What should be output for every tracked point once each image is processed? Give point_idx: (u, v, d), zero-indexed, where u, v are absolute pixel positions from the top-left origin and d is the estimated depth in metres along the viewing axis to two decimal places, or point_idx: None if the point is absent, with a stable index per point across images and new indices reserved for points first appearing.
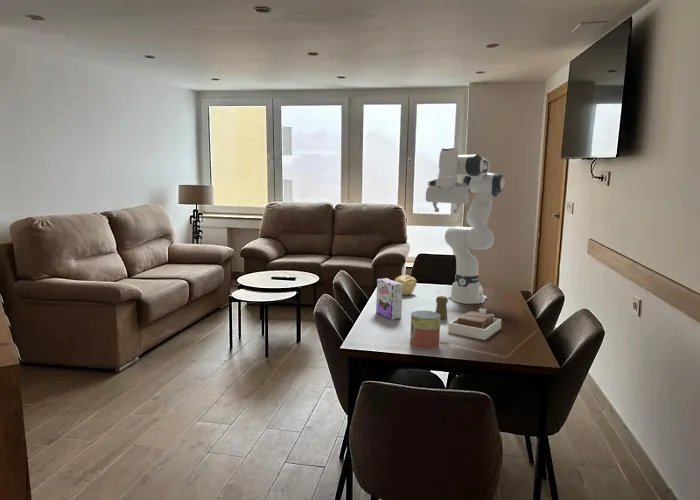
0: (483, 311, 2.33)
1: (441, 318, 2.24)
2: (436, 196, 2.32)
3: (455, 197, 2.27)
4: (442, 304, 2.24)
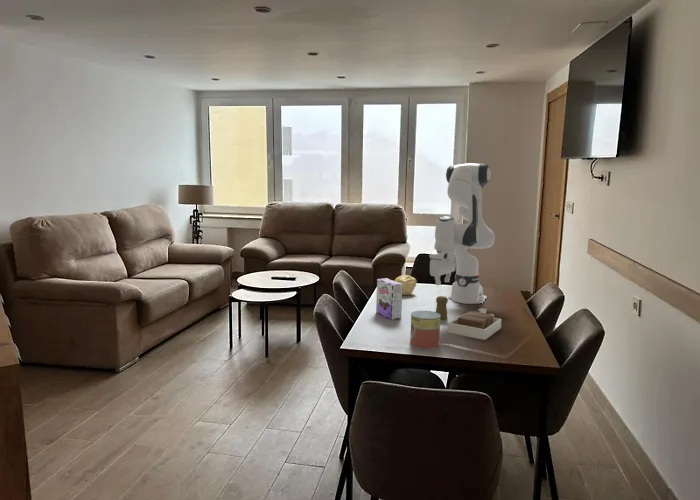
0: (483, 311, 2.33)
1: (441, 318, 2.24)
2: (443, 269, 2.19)
3: (451, 266, 2.27)
4: (442, 304, 2.24)
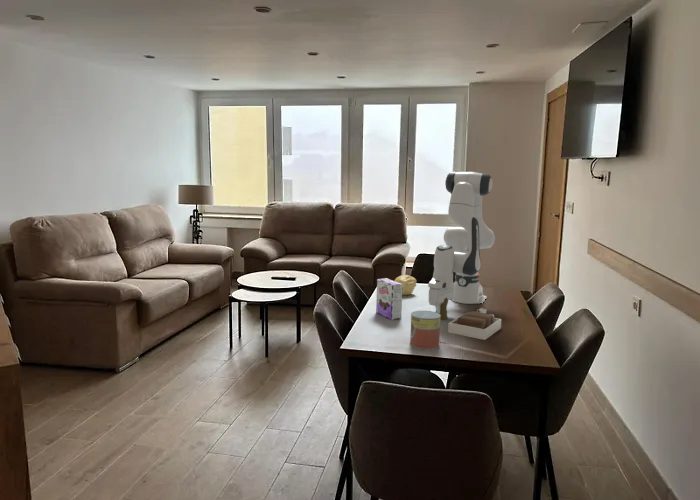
0: (483, 311, 2.33)
1: (441, 318, 2.24)
2: (441, 298, 2.21)
3: (450, 294, 2.29)
4: (442, 304, 2.24)
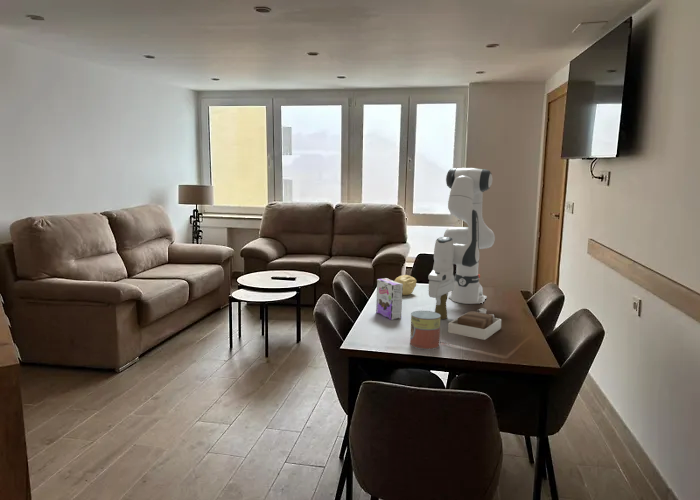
0: (483, 311, 2.33)
1: None
2: (441, 290, 2.21)
3: (450, 285, 2.29)
4: (441, 301, 2.25)
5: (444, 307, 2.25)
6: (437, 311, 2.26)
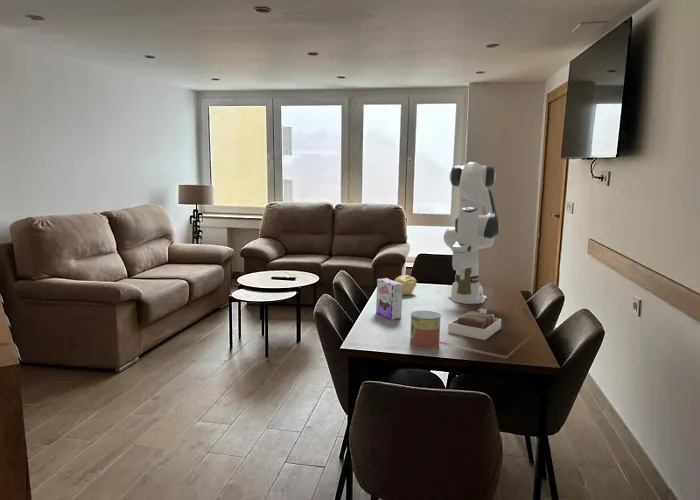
0: (483, 311, 2.33)
1: (464, 290, 2.10)
2: (466, 262, 2.07)
3: (474, 260, 2.14)
4: (465, 276, 2.10)
5: (468, 282, 2.10)
6: (461, 286, 2.11)
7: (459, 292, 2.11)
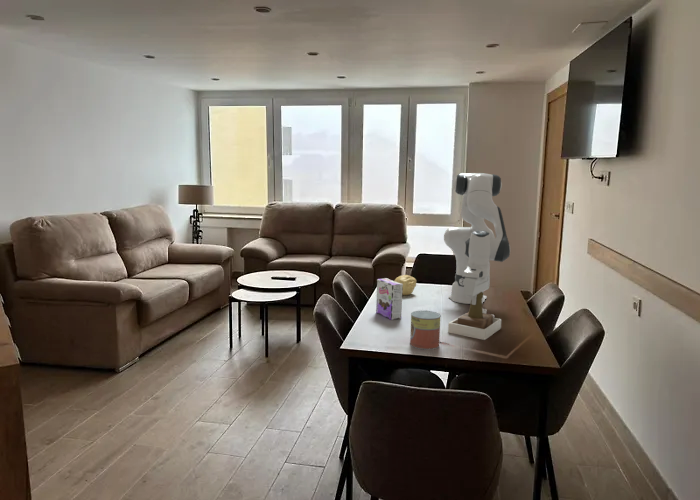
0: (483, 311, 2.32)
1: (476, 314, 2.06)
2: (477, 288, 2.03)
3: (485, 284, 2.10)
4: (477, 299, 2.06)
5: (480, 305, 2.06)
6: (472, 310, 2.07)
7: (470, 315, 2.07)
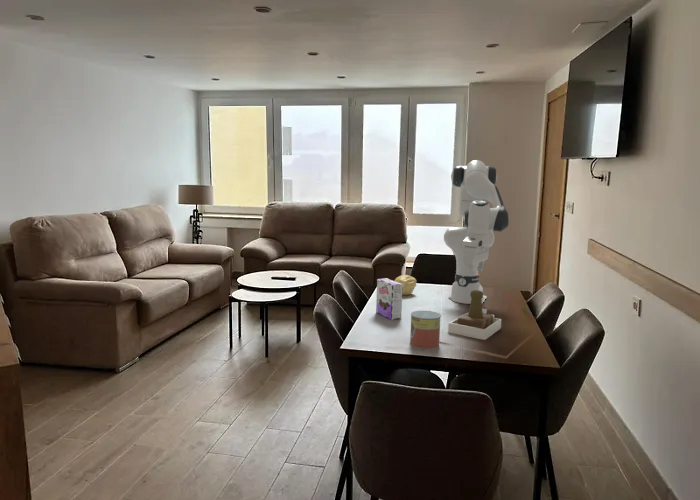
0: (483, 311, 2.32)
1: (476, 314, 2.06)
2: (477, 257, 2.04)
3: (484, 254, 2.11)
4: (477, 299, 2.06)
5: (480, 305, 2.06)
6: (472, 310, 2.07)
7: (470, 316, 2.07)
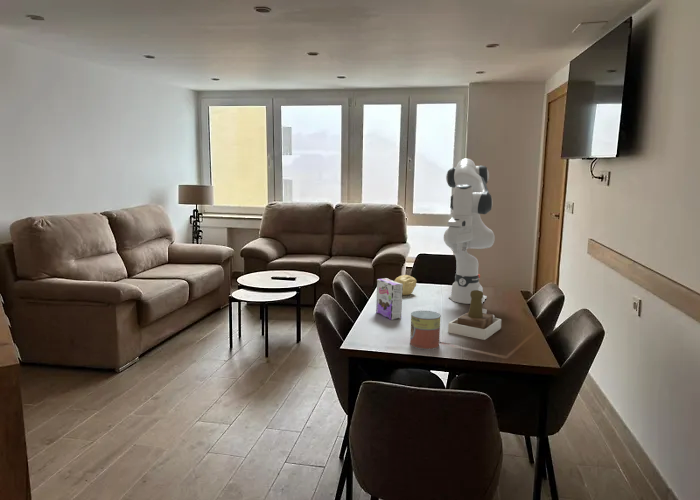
0: (483, 312, 2.32)
1: (476, 314, 2.06)
2: (461, 237, 2.19)
3: (469, 235, 2.27)
4: (477, 299, 2.06)
5: (480, 305, 2.06)
6: (472, 310, 2.07)
7: (470, 316, 2.07)
